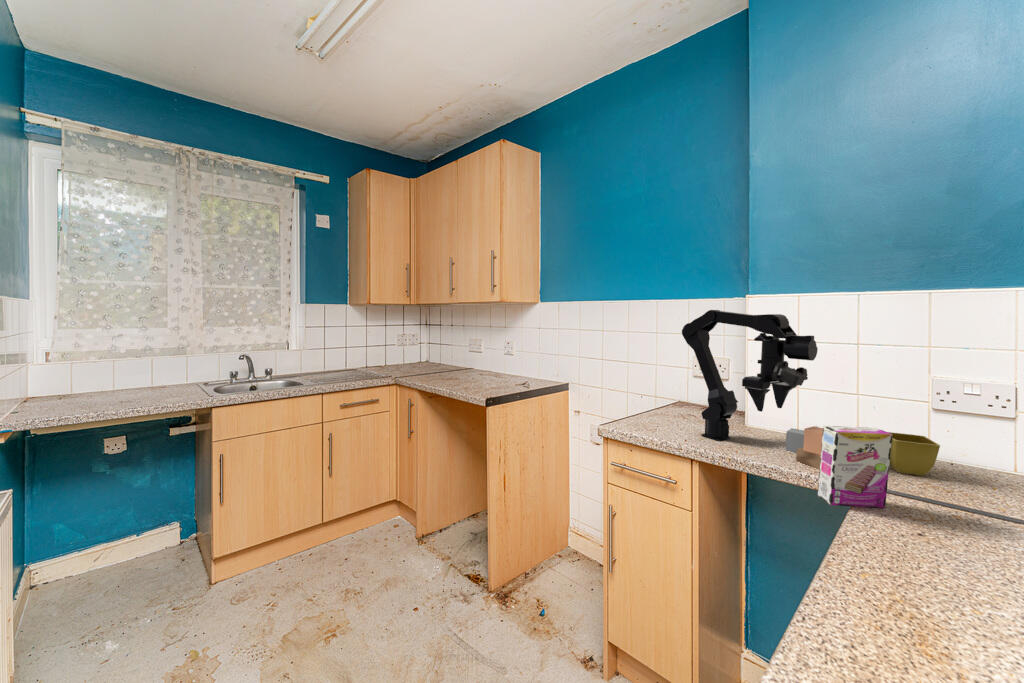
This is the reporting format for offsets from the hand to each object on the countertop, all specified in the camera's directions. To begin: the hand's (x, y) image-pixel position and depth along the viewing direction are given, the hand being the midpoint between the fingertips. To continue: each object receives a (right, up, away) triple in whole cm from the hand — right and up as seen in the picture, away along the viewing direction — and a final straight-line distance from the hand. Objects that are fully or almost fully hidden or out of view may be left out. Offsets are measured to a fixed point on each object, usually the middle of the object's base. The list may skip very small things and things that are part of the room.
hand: (769, 409), depth 124 cm
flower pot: (+27, -14, -15) cm, 34 cm away
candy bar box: (-2, -15, -32) cm, 36 cm away
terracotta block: (+7, -10, -10) cm, 16 cm away
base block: (+7, -14, -10) cm, 18 cm away
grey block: (+9, -13, +1) cm, 15 cm away
